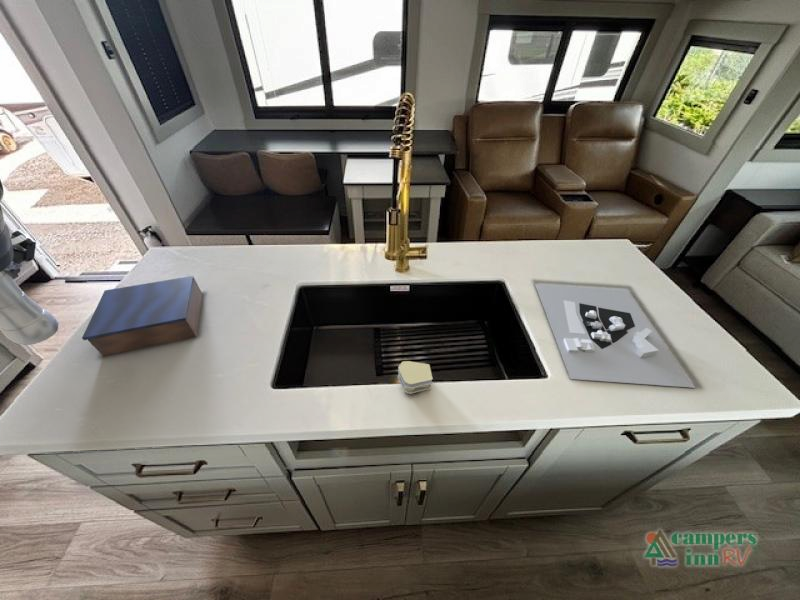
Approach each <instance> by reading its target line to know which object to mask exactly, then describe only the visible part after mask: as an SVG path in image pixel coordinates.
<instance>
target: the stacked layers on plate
mask: <svg viewBox="0 0 800 600" xmlns="http://www.w3.org/2000/svg"><path fill="white" fill-rule="evenodd" d="M397 369H398V370H397V373H398V374H397V380H398V381H399V383H400V385H401V387H402V389H403V391H404V392H405V394H408V395H412V394H415V393H419V392H423V391H429V390H432V385H431V384H433V381H432V380H433V379H434V378H433V374H432V369H431V365H430V364H429V363H423V362H417V361H411V360H404V361H402V362H401V363H400V364H399V366H398V367H397Z"/></svg>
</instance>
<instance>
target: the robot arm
mask: <svg viewBox="0 0 800 600" xmlns="http://www.w3.org/2000/svg"><path fill="white" fill-rule="evenodd" d="M4 191H5V190H4V185H3V182H2V180H1V179H0V202H1V201H2V200H3V198H4V193H5V192H4ZM3 211H4V210H3V207H2V205H1V203H0V272H1V271H3V270H7V272H8V273H9V274H10V276H11V277H12V279H13V280H15V279H16V278H19V273H20V272H21V267H22V266H23V264H22V263H23V262H24V261H25V262H27V263H28V262H31V261H33V259H35V254H36V248H37V247H36V246H37V242H36V241H35V240H33V239H32V238H31V237H29V236H28V235H27V234H25V233H24V232H22V230H15V231H13V232H12V233H11V232H10V228H9V226H8V224H7V222H6V221H5V217H4V212H3Z"/></svg>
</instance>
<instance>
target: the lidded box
mask: <svg viewBox="0 0 800 600" xmlns="http://www.w3.org/2000/svg"><path fill="white" fill-rule="evenodd" d="M202 302H203V293H202V290H201V288H200V286H199V285H198V283H197V281H196V279H195V278H194V282H193V287H192V292H191V298H190V303H189V309H188V314H187V320H185V321H180V322H175V323H170V324H165V325H160V326H155V327H149V328H144V329H139V330H134V331H129V332H124V333H119V334H114V335H109V336H104V337H99V338H93V339H88V340H87V341H88V342H89V343H90V345H92V346H93V347H94V348H95V349H96V350H97V352H98V353H100V355H101V356H102V357H107V356H111V355H115V354H119V353H125V352H131V351H135V350H139V349H144V348H149V347H154V346H158V345H163V344H168V343H173V342H178V341H183V340H186V339H187V340H188V339H191V338H196V337H197V335H198V329H199V328H198V327H199V321H200V316H201V315H200V314H201V308H202Z"/></svg>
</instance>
